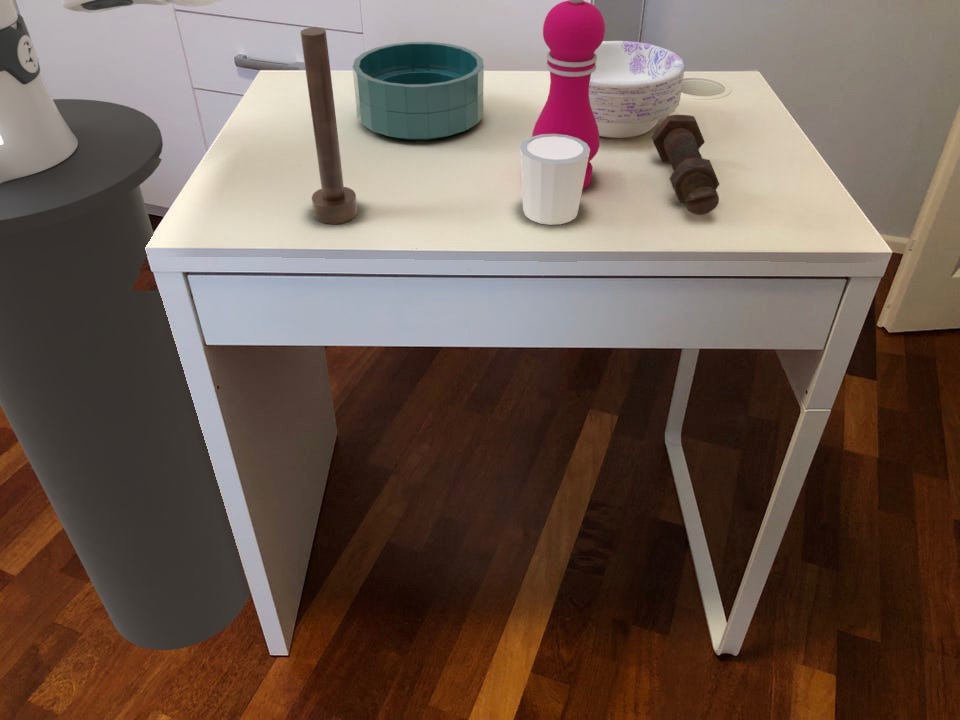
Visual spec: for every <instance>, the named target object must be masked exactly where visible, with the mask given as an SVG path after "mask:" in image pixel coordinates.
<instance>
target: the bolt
mask: <svg viewBox="0 0 960 720" xmlns="http://www.w3.org/2000/svg"><path fill="white" fill-rule="evenodd" d="M651 140H652V143H653V145H654V147H655V150H656V152H657V154H658V156H659V158H660V161H661V163H670V166H671V168H672V170H673V172H672V174H671V175H670V177H669V181H670V185H671V187H672V188H673V191H674V193H675V195H676V198H677V199H678V201H679V203H681V204H685V207H686V209H687V211H688V212H689V213H691V214H694V215H700V216H702V215H706V214H709V213H711V212H712V211H714V210H715V209H716V208H717V207H718V205H719V203H720V202H719V201H720V197H719V194H718V192H717V190H718V188H719V186H720V182H719V180H718V176H717V173H716V172H715V169H714V167H713V164H712V162H711V160H710V159H706V158H703V156H702V154H701V152H700V149H701V147H702V146H703V145H704V144H705V142H706V141H705V139H704V137H703V134H702V131H701V129H700V127H699V124H698V121H697V119H696V117H695V116H694V115H689V114H672V115H671V114H670V115H668V116H665V117H664V119H663V120H662V121H661V122H660V123H659V124H658V126H657V127H656V129H655V130H654V131H653V133H652V135H651Z"/></svg>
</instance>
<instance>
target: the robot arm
mask: <svg viewBox="0 0 960 720" xmlns="http://www.w3.org/2000/svg"><path fill="white" fill-rule="evenodd" d="M59 1H60V3H61V5H62V7H63V8H64V9H66V10H69V11H73V12H78V13H79V12H80V13H82V12H83V13H87V14H89V13H91V14H92V13H93V14H94V13H95V14H96V13H103V12H108V11H112V10H117V9H120V8H126V7H129V6H133V5H151V6H152V5H153V6H169V5H170V4H174V5H177V6H182V7H193V8H194V7H204V6H209V5H213V4H216V3H218V2H220V1H221V0H59ZM77 146H78V140H77V138H76V137H75V135H74V134H73V132H72V131H71V130H70V128H69V127H68V125H67V124H66V122H65V121H64V119H63V117H62V116H61V114H60V112H59V110H58V109H57V107H56V105H55V103H54V101H53V97H52V96H51V93H50V91H49V90H48V87H47V85H46V83H45V81H44V79H43V76H42V74H41V66H40V63H39V58H38V55H37V51H36V48H35V46H34V43H33V41H32V38H31V35H30V32H29V30H28V27H27V25H26V22H25V20H24V17H23V16H22V15H21V14H19V13H18V11H17V9H16V7H15V3H14V1H13V0H0V184H1V183H3V182H6V181H9V180H13V179H17V178H21V177H25V176H28V175H32V174H35V173H38V172H41V171H43V170H46V169H48V168H51V167H53V166H55V165H57V164H59V163H60V162H62V161H64V160H65V159H67V158H68V157H69V156H70V155H72V154H73V152H74V151H75V150H76V148H77Z"/></svg>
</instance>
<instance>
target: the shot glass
mask: <svg viewBox="0 0 960 720" xmlns="http://www.w3.org/2000/svg"><path fill="white" fill-rule="evenodd" d="M589 153H590V148H589V146H588V145H587V143H585V142H583V141H582V140H580V139H578V138H575V137H572V136H568V135H561V134H541V135H537V136H533V137H532V136H529V137H528V138H526V139H525V140H523V141H522V142H521V143H520V145H519V163H520V179H521V181H520V182H521V196H522V197H521V198H522V200H521V201H522V211H523V214H524V216H525V217H526V218H527V219H529V220H530V221H531V222H534V223H538V224H540V225H541V224H542V225H549V226H555V225H564V224H566V223H570V222H572V221H573V220H575V219H576V218H577V217H578V213H579V209H580V203H581V198H582V192H583V190H584V189H583V183H584V178H585V173H586V168H587V163H588V158H589Z"/></svg>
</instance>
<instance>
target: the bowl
mask: <svg viewBox="0 0 960 720" xmlns="http://www.w3.org/2000/svg"><path fill="white" fill-rule="evenodd" d="M484 69H485V68H484V59H483V58H482V57H481V56H480V55H479V54H478V52H476V51H474V50H471V49H469V48H467V47H464V46H461V45H456V44H452V43H445V42H437V41H436V42H435V41H405V42H398V43H390V44H385V45H381V46H378V47H377V46H376V47H374V48H371V49H369V50H367V51H363V52H362V53H361V54H359V56H357V57H356V58H355V59H354V60H353V63H352V76H353V85H354V96H355V97H354V99H355V106H356V116H357V119H358V121H359V122H360V124H361V125H362V126H364V127H365V128H367V129H368V130H370V131H371V132H374V133H377V134H380V135H383V136H387V137H391V138H395V139H400V140H401V139H402V140H410V141H429V140H437V139H443V138H447V137H451V136H453V135H456V134H459V133H462V132H466V131H467V130H470V129H471V128H473V127H474V126H476V125H478V124H479V123H480V121H481V120H482V119H483V117H484V78H485V77H484V73H485V72H484Z"/></svg>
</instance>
